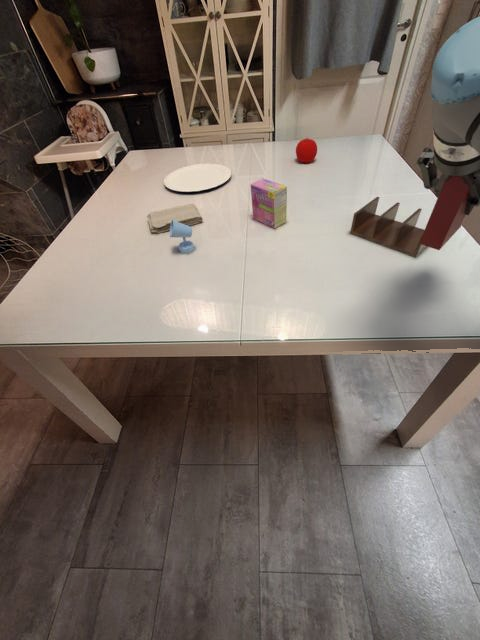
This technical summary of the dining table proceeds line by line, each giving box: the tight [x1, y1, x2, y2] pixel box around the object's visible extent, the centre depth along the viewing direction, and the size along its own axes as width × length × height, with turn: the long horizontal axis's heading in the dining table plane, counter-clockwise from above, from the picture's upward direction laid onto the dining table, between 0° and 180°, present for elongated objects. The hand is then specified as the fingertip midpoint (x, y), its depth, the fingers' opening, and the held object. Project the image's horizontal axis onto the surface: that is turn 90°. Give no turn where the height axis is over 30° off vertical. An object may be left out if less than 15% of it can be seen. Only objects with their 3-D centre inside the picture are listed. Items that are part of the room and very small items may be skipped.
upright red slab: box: [419, 176, 470, 251], centre depth 58 cm, size 4×11×15 cm, turn 135°
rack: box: [349, 196, 428, 258], centre depth 85 cm, size 20×13×6 cm, turn 44°
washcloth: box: [146, 203, 203, 234], centre depth 103 cm, size 12×18×3 cm, turn 109°
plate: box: [163, 162, 232, 193], centre depth 127 cm, size 29×29×2 cm
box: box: [250, 178, 288, 229], centre depth 95 cm, size 10×6×12 cm, turn 42°
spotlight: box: [169, 220, 195, 255], centre depth 88 cm, size 5×10×7 cm
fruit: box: [295, 136, 318, 164], centre depth 128 cm, size 9×9×10 cm
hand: (457, 205), depth 61 cm, fingers closed on upright red slab, 4 cm apart
